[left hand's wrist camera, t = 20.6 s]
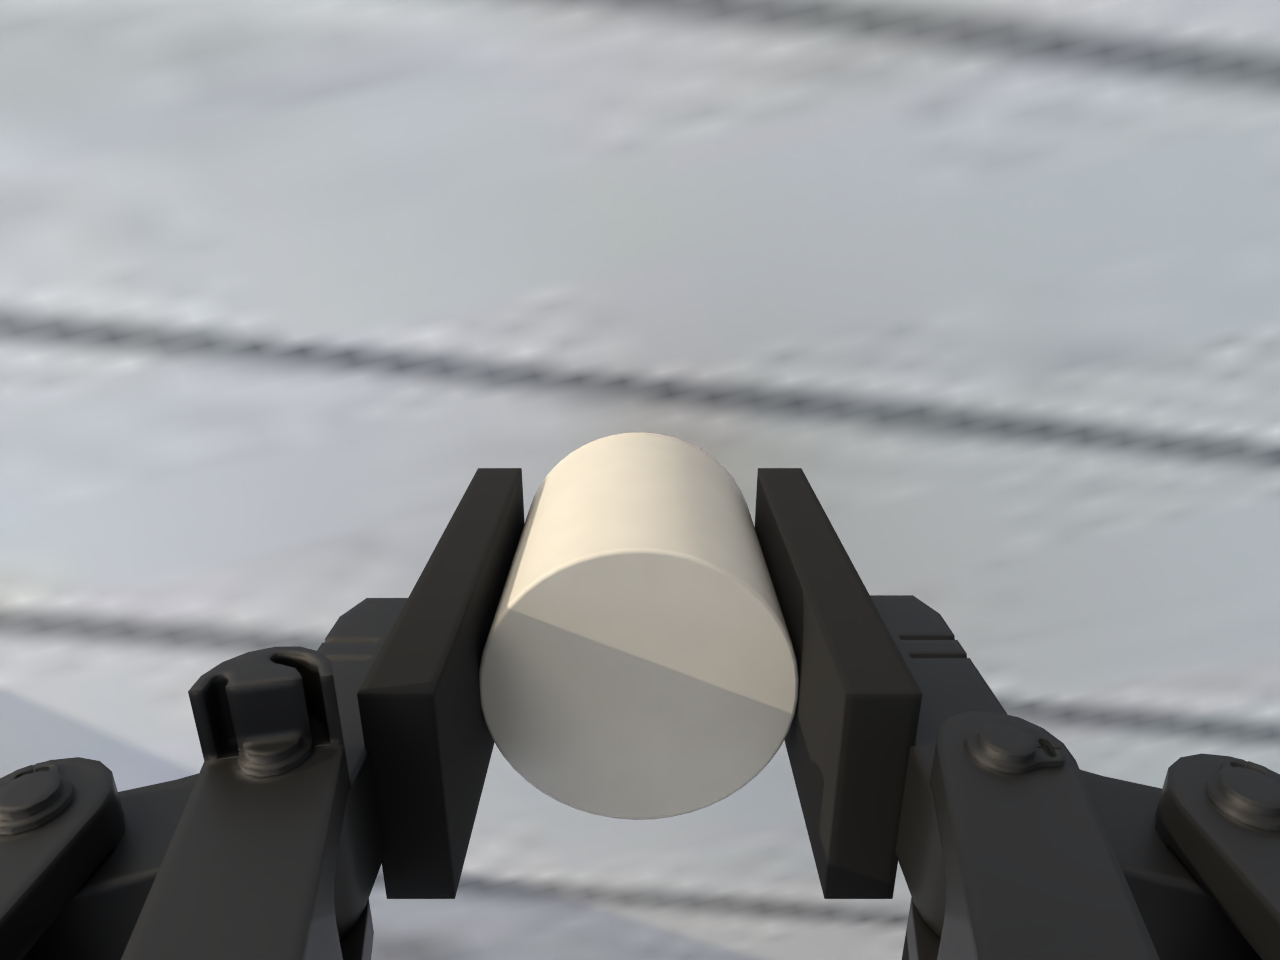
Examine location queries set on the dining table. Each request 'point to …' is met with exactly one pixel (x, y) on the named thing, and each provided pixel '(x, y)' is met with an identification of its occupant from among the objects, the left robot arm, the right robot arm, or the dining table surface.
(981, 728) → the left robot arm
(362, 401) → the dining table surface
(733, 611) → the can
